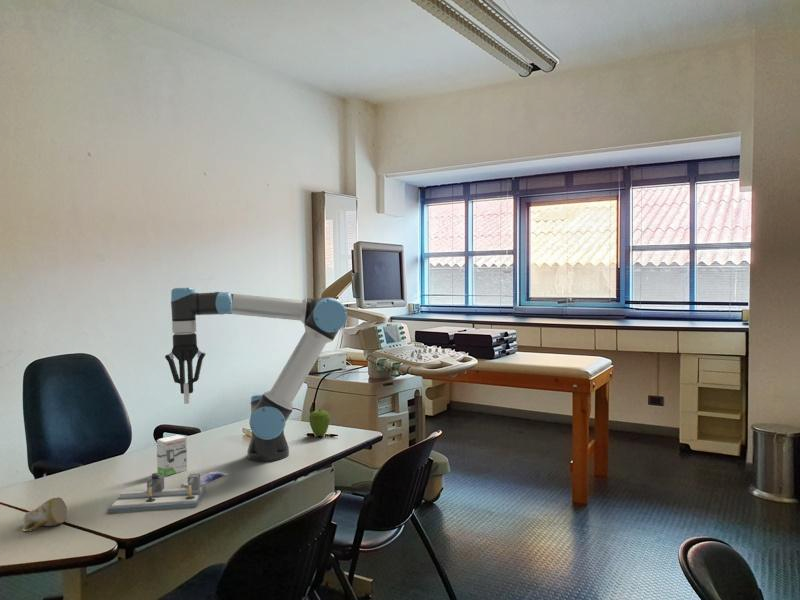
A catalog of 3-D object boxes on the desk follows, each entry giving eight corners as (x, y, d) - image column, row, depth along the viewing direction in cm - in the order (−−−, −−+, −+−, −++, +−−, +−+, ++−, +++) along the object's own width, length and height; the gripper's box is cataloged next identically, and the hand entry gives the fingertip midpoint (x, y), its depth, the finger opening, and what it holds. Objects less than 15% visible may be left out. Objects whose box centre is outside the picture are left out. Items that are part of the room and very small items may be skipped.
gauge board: (205, 491, 178) (205, 470, 178) (196, 507, 165) (196, 484, 165) (123, 496, 175) (123, 475, 174) (108, 513, 162) (107, 490, 162)
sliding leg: (164, 489, 174) (163, 471, 174) (157, 498, 166) (156, 480, 166) (150, 490, 173) (149, 472, 173) (142, 499, 166) (142, 481, 166)
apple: (312, 433, 245) (312, 406, 245) (332, 433, 245) (331, 406, 244) (307, 439, 237) (306, 411, 236) (327, 439, 236) (326, 411, 236)
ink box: (164, 476, 192) (163, 441, 192) (156, 474, 195) (155, 439, 195) (187, 470, 199) (187, 436, 199) (180, 467, 202) (179, 434, 202)
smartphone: (229, 473, 193) (196, 488, 180) (229, 476, 193) (196, 490, 180) (213, 470, 196) (179, 484, 183) (213, 473, 196) (179, 487, 183)
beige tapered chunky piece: (28, 522, 157) (49, 487, 159) (58, 538, 156) (78, 503, 158) (10, 526, 150) (32, 490, 152) (41, 543, 149) (63, 507, 151)
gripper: (206, 331, 199) (209, 399, 199) (166, 333, 197) (169, 401, 197) (202, 333, 191) (205, 403, 192) (161, 335, 189) (164, 406, 190)
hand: (187, 402), depth 195 cm, fingers closed
